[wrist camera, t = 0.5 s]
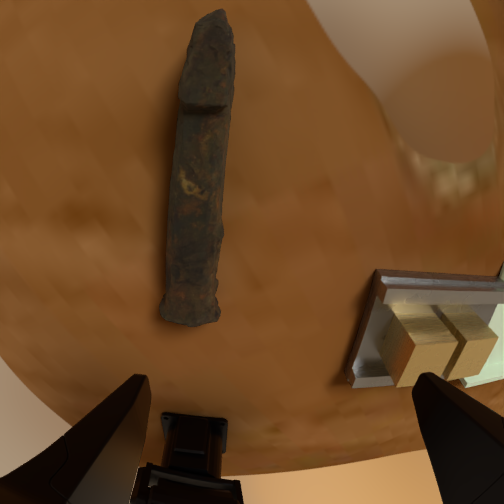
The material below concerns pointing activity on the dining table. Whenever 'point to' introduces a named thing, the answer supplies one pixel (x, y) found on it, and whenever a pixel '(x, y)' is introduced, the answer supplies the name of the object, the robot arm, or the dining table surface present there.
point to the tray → (500, 360)
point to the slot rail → (413, 301)
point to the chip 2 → (468, 344)
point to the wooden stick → (199, 174)
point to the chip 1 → (416, 347)
